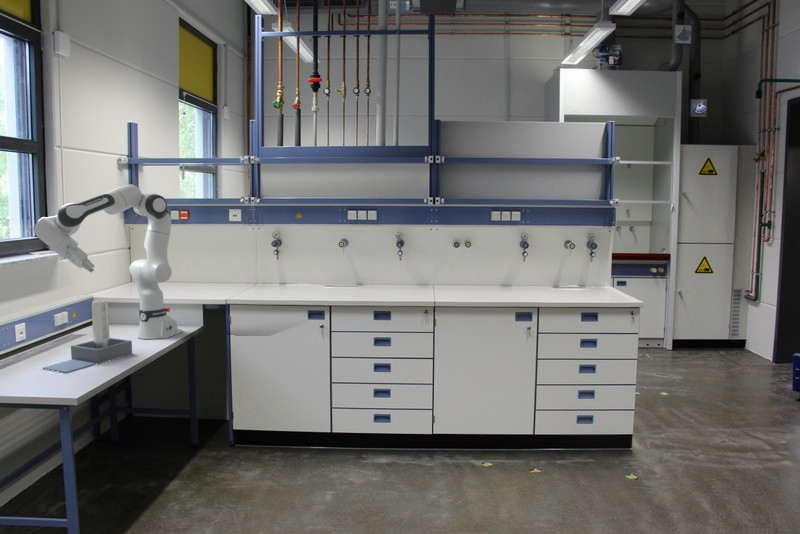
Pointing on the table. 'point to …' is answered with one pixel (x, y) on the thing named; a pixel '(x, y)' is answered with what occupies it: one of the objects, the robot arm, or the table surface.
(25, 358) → the table surface
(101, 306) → the light grey tall bar
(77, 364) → the mat
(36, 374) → the table surface
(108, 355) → the gray open bin
